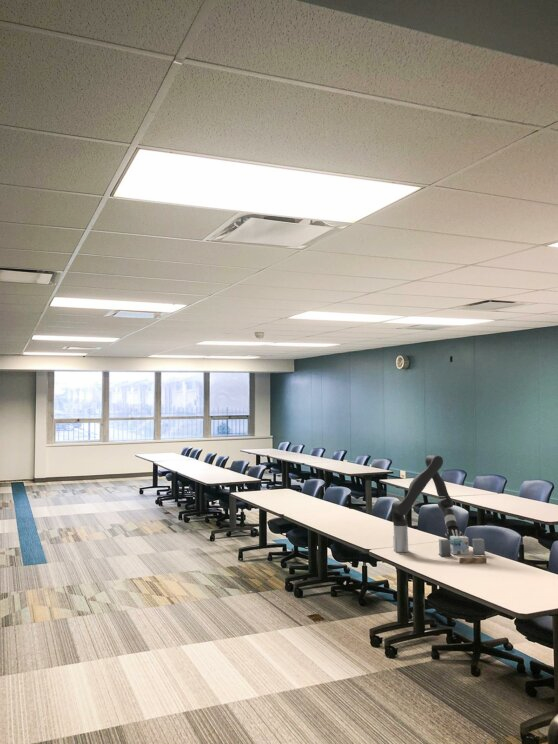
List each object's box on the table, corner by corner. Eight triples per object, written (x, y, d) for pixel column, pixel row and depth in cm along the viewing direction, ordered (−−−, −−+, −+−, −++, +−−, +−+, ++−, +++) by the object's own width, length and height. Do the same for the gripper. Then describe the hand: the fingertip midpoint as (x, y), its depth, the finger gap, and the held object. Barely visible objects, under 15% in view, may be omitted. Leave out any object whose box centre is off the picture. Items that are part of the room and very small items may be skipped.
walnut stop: (460, 563, 369) (460, 558, 370) (459, 562, 372) (459, 557, 372) (486, 563, 370) (486, 558, 370) (485, 562, 372) (485, 557, 372)
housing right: (475, 556, 389) (474, 540, 390) (472, 554, 395) (471, 538, 396) (485, 555, 390) (485, 540, 390) (482, 553, 395) (481, 538, 396)
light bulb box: (453, 554, 394) (452, 538, 395) (449, 552, 401) (449, 536, 402) (469, 554, 395) (468, 537, 396) (465, 552, 402) (465, 535, 402)
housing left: (441, 556, 389) (440, 540, 390) (438, 554, 395) (438, 539, 396) (451, 556, 389) (451, 540, 390) (449, 554, 395) (448, 539, 396)
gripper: (442, 519, 413) (448, 541, 399) (461, 519, 413) (468, 541, 400) (440, 526, 418) (446, 548, 404) (459, 526, 418) (466, 547, 405)
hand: (457, 544), depth 402 cm, fingers closed
